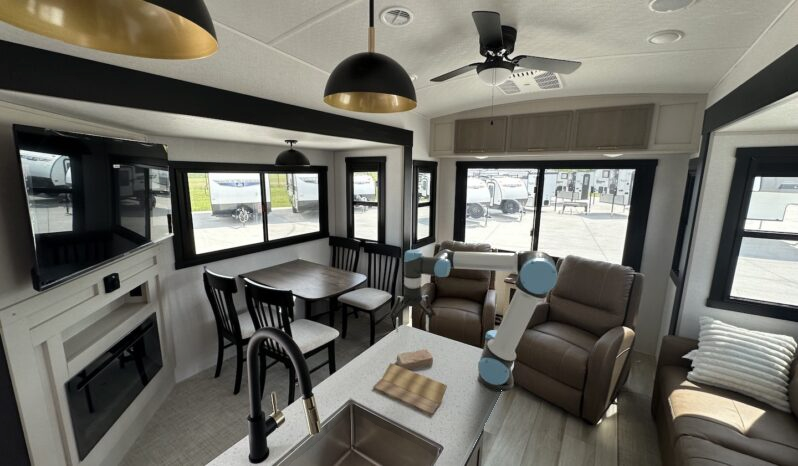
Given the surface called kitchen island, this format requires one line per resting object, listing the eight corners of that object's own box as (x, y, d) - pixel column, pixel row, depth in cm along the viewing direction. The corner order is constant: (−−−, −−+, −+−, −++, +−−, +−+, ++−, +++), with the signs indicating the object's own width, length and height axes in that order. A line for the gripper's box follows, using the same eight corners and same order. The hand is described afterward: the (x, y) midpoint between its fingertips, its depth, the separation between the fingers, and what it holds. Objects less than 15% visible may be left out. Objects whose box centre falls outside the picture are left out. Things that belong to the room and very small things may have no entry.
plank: (447, 386, 130) (446, 385, 129) (439, 405, 125) (439, 403, 124) (391, 364, 144) (390, 362, 143) (382, 380, 139) (381, 378, 138)
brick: (401, 371, 145) (401, 362, 145) (395, 361, 153) (396, 353, 152) (433, 366, 151) (433, 357, 150) (426, 356, 158) (427, 348, 158)
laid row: (438, 406, 124) (438, 403, 124) (432, 416, 119) (432, 413, 118) (381, 381, 138) (381, 378, 138) (373, 389, 133) (373, 386, 133)
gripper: (439, 281, 139) (437, 325, 143) (383, 283, 137) (383, 327, 141) (442, 287, 132) (441, 333, 136) (384, 289, 130) (384, 336, 134)
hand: (412, 330), depth 138 cm, fingers open, 13 cm apart
